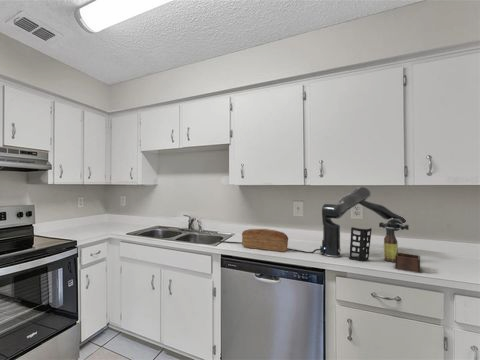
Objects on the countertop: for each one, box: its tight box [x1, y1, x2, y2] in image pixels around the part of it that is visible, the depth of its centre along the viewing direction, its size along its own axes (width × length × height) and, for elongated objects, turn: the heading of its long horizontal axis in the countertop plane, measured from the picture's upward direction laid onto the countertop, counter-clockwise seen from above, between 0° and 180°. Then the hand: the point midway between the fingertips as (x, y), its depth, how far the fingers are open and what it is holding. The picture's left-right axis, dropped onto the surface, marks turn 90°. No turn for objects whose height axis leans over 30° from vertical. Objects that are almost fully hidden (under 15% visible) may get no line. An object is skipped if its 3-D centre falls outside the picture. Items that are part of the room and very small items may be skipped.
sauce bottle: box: [383, 227, 399, 263], centre depth 159 cm, size 6×6×20 cm
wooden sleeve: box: [394, 252, 421, 274], centre depth 145 cm, size 10×11×7 cm
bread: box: [241, 228, 289, 252], centre depth 187 cm, size 12×31×14 cm, turn 61°
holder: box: [348, 226, 373, 262], centre depth 160 cm, size 11×8×20 cm
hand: (392, 227), depth 166 cm, fingers open, 8 cm apart
